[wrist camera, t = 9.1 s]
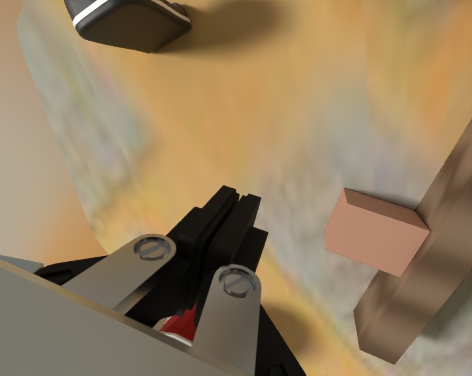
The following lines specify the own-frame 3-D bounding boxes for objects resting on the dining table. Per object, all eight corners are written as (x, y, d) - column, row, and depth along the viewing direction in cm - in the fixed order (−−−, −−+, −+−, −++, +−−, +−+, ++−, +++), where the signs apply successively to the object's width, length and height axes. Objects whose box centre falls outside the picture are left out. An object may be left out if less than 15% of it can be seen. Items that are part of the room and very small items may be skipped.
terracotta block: (343, 187, 31) (347, 203, 27) (413, 210, 30) (430, 231, 25) (324, 228, 34) (325, 249, 29) (388, 251, 32) (400, 277, 28)
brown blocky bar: (478, 107, 25) (523, 112, 19) (525, 120, 24) (585, 128, 19) (353, 311, 36) (359, 349, 31) (382, 323, 35) (394, 364, 30)
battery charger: (182, -8, 29) (106, -62, 19) (195, 28, 30) (130, -5, 19) (135, 23, 31) (46, -10, 21) (148, 55, 32) (69, 39, 22)
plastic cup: (241, 285, 40) (213, 356, 29) (236, 335, 44) (210, 414, 33) (178, 268, 43) (130, 328, 32) (179, 317, 47) (137, 385, 36)
